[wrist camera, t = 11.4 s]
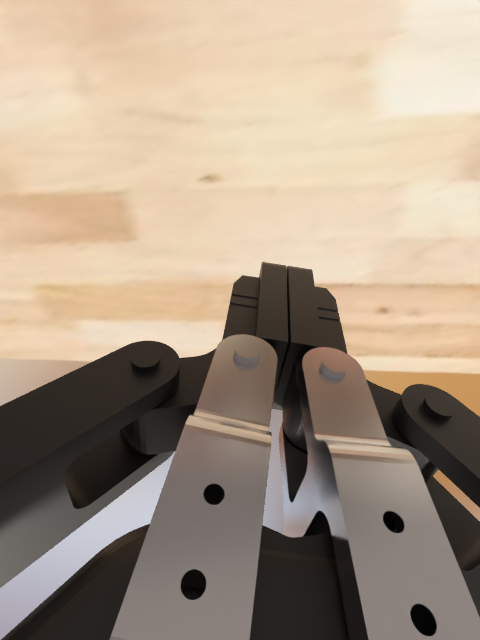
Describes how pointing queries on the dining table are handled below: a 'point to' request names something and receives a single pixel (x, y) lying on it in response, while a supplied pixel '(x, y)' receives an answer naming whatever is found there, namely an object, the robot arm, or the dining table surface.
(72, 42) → the dining table surface
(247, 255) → the dining table surface
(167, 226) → the dining table surface
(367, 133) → the dining table surface
